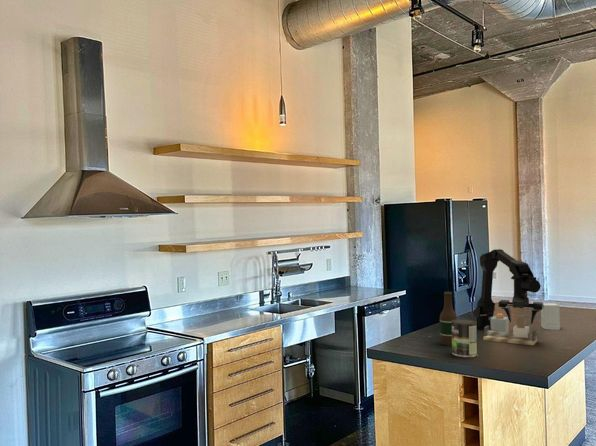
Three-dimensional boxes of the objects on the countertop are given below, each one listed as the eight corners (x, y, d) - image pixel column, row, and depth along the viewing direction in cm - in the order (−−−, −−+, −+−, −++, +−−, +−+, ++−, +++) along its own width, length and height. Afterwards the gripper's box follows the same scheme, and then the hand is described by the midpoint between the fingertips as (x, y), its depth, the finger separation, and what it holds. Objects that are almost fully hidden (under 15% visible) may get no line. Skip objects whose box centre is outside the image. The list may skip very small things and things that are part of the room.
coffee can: (457, 357, 211) (457, 323, 211) (448, 351, 221) (447, 319, 221) (481, 356, 211) (480, 323, 211) (471, 350, 222) (470, 318, 222)
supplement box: (560, 330, 260) (559, 305, 260) (544, 329, 261) (544, 305, 261) (556, 327, 267) (555, 303, 267) (540, 326, 268) (540, 302, 268)
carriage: (513, 336, 236) (512, 316, 236) (515, 334, 241) (515, 314, 241) (527, 338, 232) (526, 317, 232) (529, 335, 237) (529, 315, 237)
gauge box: (490, 334, 252) (490, 318, 252) (493, 331, 258) (493, 316, 258) (505, 335, 249) (505, 319, 249) (508, 333, 254) (508, 317, 254)
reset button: (495, 320, 253) (495, 314, 253) (497, 319, 255) (496, 313, 255) (502, 320, 251) (502, 314, 251) (503, 319, 254) (503, 313, 254)
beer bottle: (457, 342, 237) (457, 291, 237) (457, 346, 230) (456, 293, 230) (440, 341, 240) (439, 290, 240) (439, 345, 232) (438, 292, 232)
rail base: (483, 340, 241) (483, 328, 241) (488, 335, 249) (487, 324, 249) (533, 345, 229) (533, 333, 229) (537, 340, 237) (536, 329, 237)
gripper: (495, 290, 235) (496, 324, 235) (540, 293, 225) (540, 328, 225) (500, 287, 244) (501, 320, 244) (543, 290, 234) (543, 323, 234)
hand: (521, 323), depth 237 cm, fingers open, 9 cm apart
